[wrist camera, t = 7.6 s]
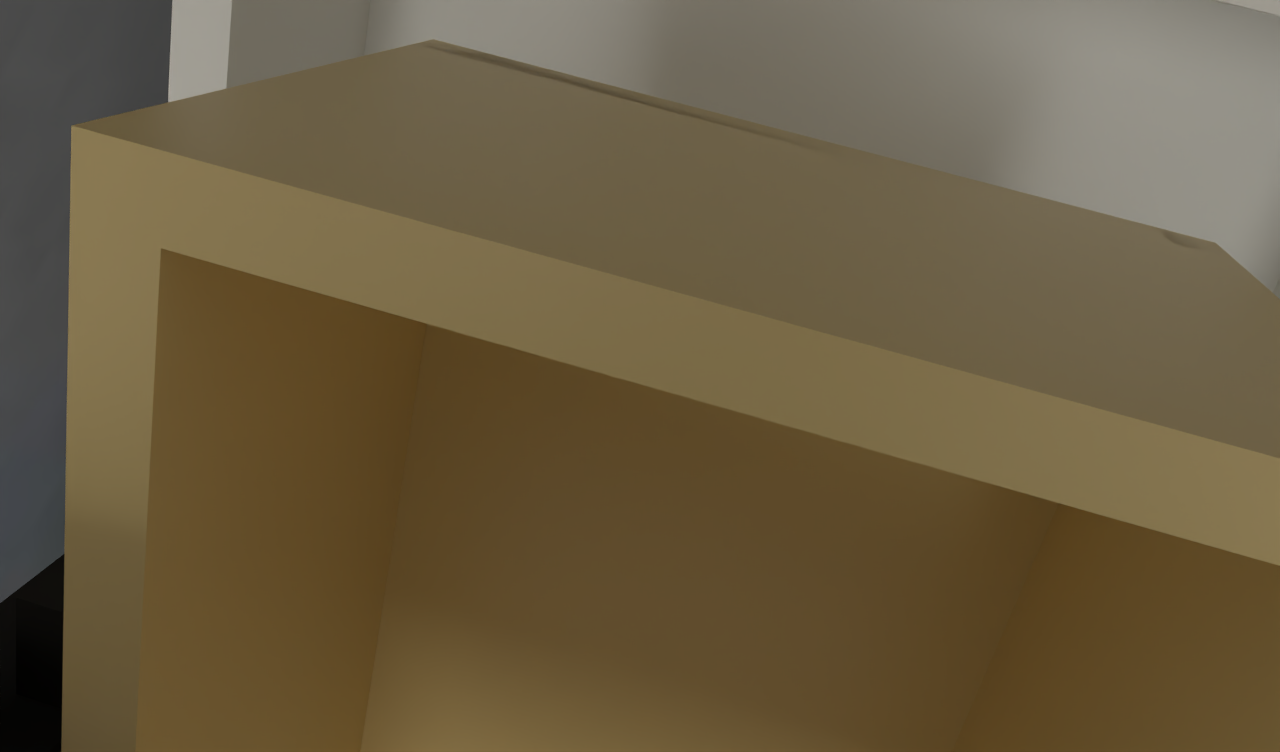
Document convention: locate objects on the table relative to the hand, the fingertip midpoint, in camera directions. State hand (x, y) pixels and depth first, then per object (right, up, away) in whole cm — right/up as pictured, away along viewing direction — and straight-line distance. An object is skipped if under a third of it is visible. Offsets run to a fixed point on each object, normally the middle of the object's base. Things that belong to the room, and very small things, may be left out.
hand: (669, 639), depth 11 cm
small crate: (0, 0, +1) cm, 1 cm away
